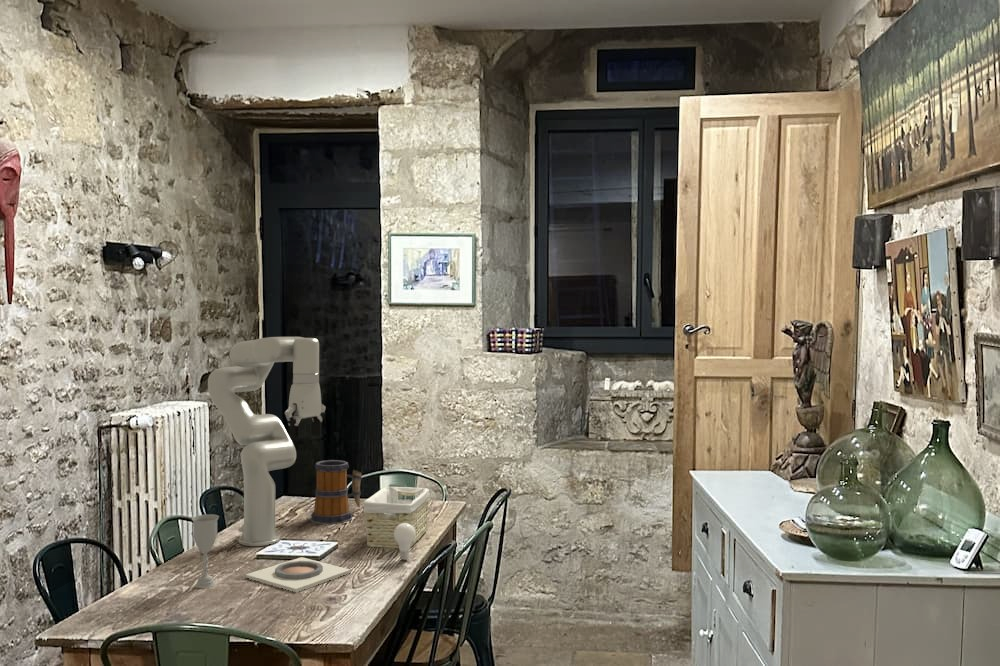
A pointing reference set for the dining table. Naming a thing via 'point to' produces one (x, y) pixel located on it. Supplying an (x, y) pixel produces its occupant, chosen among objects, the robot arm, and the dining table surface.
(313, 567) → the seat board
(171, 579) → the dining table surface
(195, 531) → the chalice
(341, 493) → the mug
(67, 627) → the dining table surface
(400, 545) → the lightbulb
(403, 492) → the storage basket
